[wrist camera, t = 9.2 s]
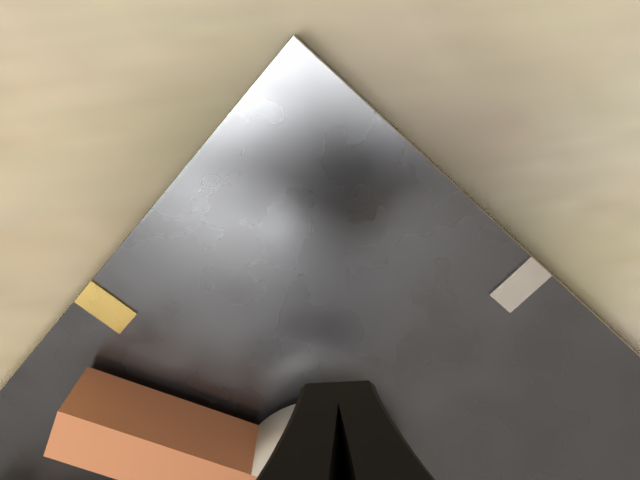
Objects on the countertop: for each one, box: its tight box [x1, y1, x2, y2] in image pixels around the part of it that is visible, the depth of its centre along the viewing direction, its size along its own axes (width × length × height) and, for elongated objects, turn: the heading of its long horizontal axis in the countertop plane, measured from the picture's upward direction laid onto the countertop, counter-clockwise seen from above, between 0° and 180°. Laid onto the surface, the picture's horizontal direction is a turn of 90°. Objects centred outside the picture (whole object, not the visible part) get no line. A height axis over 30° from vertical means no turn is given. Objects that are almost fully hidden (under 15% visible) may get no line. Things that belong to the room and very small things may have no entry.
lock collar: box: [43, 367, 296, 480], centre depth 20 cm, size 12×6×2 cm, turn 67°
